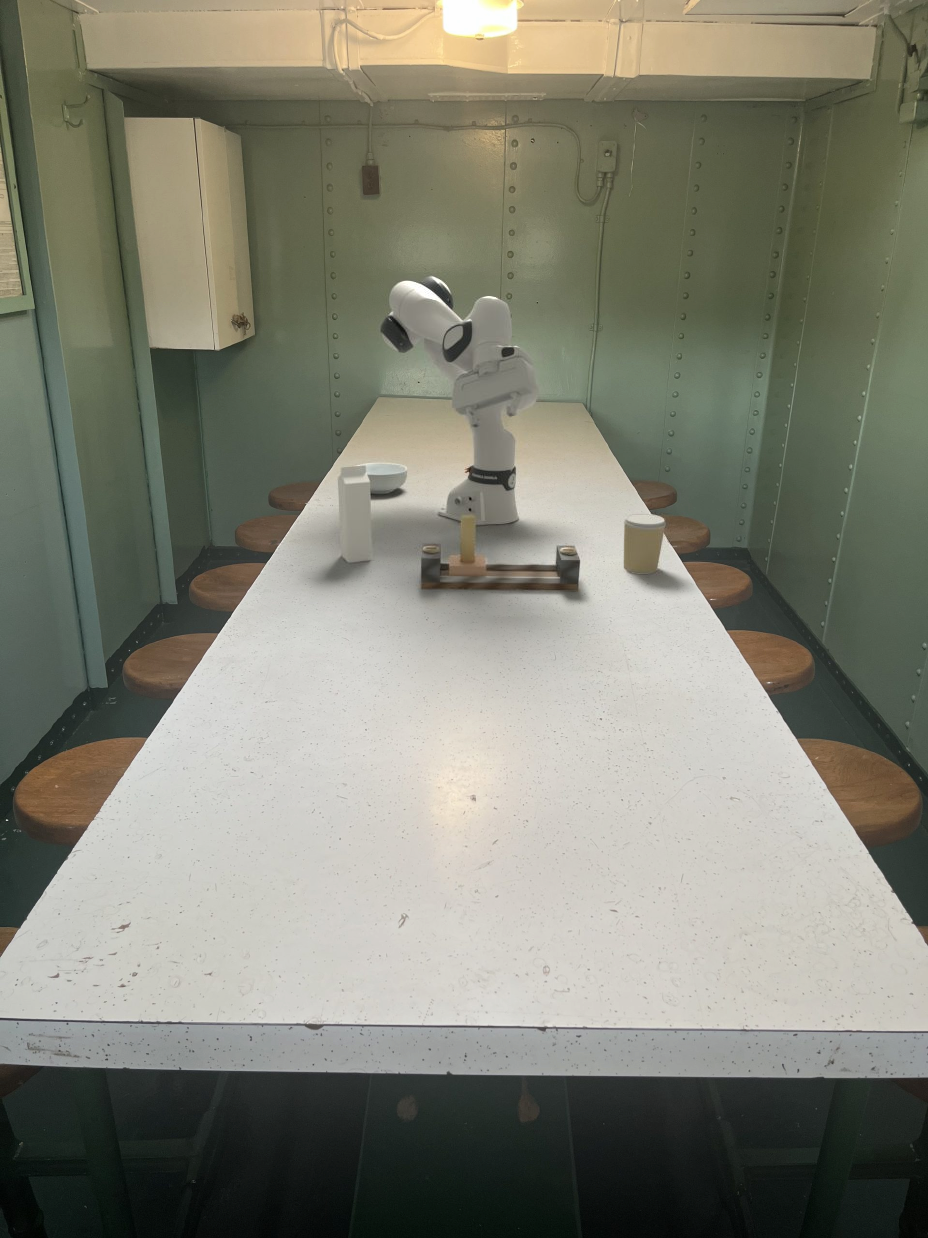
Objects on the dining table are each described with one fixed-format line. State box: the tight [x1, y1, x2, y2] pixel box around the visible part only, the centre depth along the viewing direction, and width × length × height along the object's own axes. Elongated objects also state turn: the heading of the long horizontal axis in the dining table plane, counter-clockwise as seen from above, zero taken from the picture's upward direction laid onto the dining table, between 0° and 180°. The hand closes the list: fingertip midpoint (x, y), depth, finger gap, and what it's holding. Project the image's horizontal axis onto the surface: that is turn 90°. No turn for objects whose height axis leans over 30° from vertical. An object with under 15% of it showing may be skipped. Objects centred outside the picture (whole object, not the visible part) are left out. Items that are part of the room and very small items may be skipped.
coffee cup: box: [623, 513, 667, 575], centre depth 202 cm, size 9×9×12 cm
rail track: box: [420, 543, 581, 592], centre depth 193 cm, size 34×10×8 cm, turn 90°
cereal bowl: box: [356, 462, 408, 495], centre depth 265 cm, size 17×17×7 cm
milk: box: [337, 465, 373, 564], centre depth 204 cm, size 6×6×22 cm
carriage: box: [448, 515, 487, 576], centre depth 191 cm, size 8×7×13 cm
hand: (493, 420), depth 193 cm, fingers open, 8 cm apart
